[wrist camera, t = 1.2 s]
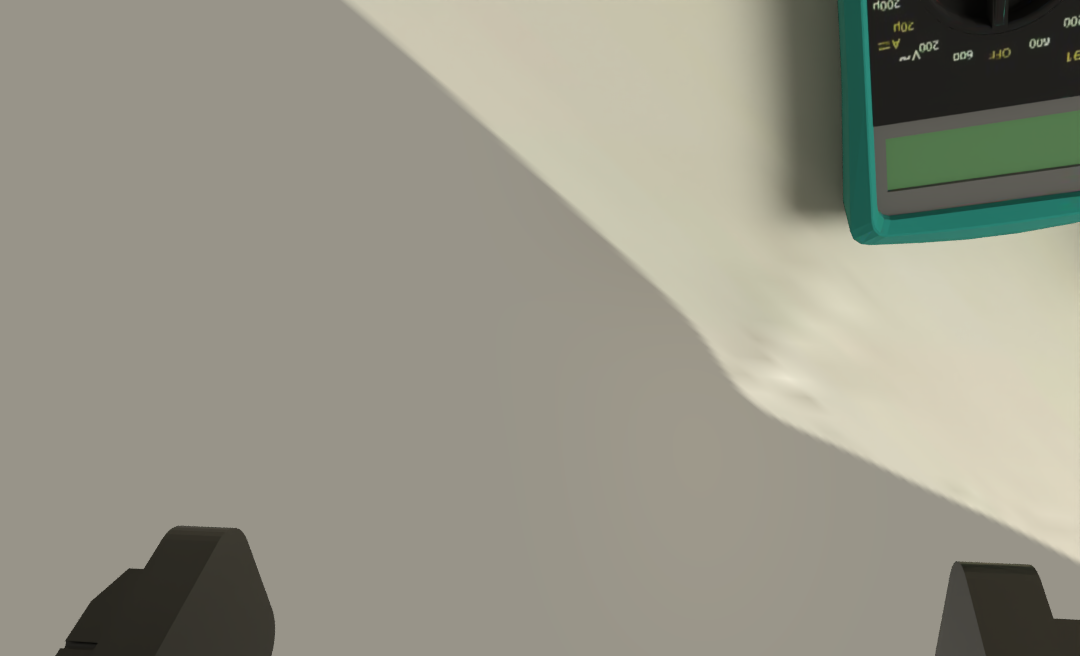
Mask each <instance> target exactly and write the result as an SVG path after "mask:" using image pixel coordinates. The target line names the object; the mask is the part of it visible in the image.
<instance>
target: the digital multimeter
mask: <svg viewBox="0 0 1080 656" xmlns="http://www.w3.org/2000/svg"><path fill="white" fill-rule="evenodd" d="M1061 1H1062V0H838V18H839V38H840V57H841V87H842V151H843V203H844V207H845V211H846V215H847V219H848V224H849V228H850V232H851V234H852V237H853V239H854V240H856V241H857V242H859V243H860V244H867V245H880V244H903V243H924V242H937V241H951V240H965V239H974V238H982V237H990V236H998V235H1006V234H1014V233H1021V232H1027V231H1032V230H1038V229H1044V228H1049V227H1055V226H1060V225H1066V224H1071V223H1076V222H1080V0H1063V1H1062V2H1061ZM1053 8H1054V9H1053ZM927 10H928V11H929V12H930V13H929V12H928V11H927ZM1049 11H1050V12H1049ZM1048 12H1049V13H1048ZM1045 14H1046V15H1045ZM1037 19H1038V20H1037ZM938 20H939V21H940V22H939V21H938ZM1035 20H1036V21H1035ZM1034 21H1035V22H1034ZM1032 22H1033V23H1032ZM951 28H953V29H951ZM1018 28H1019V29H1018ZM954 29H955V30H954ZM1015 29H1016V30H1015ZM964 32H965V33H964ZM1004 32H1005V33H1004ZM968 33H970V34H968ZM998 33H1001V34H998ZM977 34H979V35H977Z"/></svg>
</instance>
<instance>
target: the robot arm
mask: <svg viewBox="0 0 1080 656" xmlns="http://www.w3.org/2000/svg"><path fill="white" fill-rule="evenodd" d="M274 637H275V621H274V615H273V611H272V608H271V605H270V602H269V600H268V597H267V594H266V591H265V588H264V586H263V583H262V580H261V577H260V574H259V572H258V569H257V566H256V563H255V561H254V558H253V555H252V552H251V550H250V547H249V544H248V541H247V539H246V537H245V535H244V533H243V532H242V531H241V530H240V529H237V528H220V527H196V526H176V527H174V528H172V529H171V530H169V531H168V533H166V535H165V536H164V537H163V539H162V540H161V542H160V544H159V545H158V547H157V549H156V550H155V552H154V553H153V555H152V557H151V558H150V560H149V561H148V563H147V565H146V566H145V568H144V569H130V568H129V569H128V570H127V571H125V572H124V573H123V574H122V575H121V576H120V577H119V578H117V579H116V580H115V581H114V582H113V583H112V584H111V585H109V587H107V588H106V589H105V590H104V591H103V592H101V593H100V594H99V595H98V596H97V597H96V598H95V599H93V600H92V601H91V603H90V604H89V605H88V607H87V609H86V610H85V612H84V613H83V614H82V616H81V618H80V619H79V621H78V622H77V624H76V625H75V627H74V629H73V630H72V631H71V633H70V634H69V636H68V638H67V639H66V646H65V648H64V649H62V648H61V649H60V650H59V651H58V653H57V654H56V656H271V655H272V651H273V645H274ZM935 656H1080V620H1070V619H1053V616H1052V613H1051V610H1050V607H1049V604H1048V601H1047V598H1046V595H1045V592H1044V589H1043V586H1042V583H1041V580H1040V578H1039V575H1038V573H1037V571H1036V570H1035V568H1034V567H1033V566H1032V565H1026V564H1003V563H980V562H957V561H956V562H955V563H954V565H953V566H952V569H951V573H950V578H949V584H948V589H947V594H946V600H945V605H944V610H943V615H942V621H941V626H940V632H939V637H938V643H937V647H936V654H935Z"/></svg>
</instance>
